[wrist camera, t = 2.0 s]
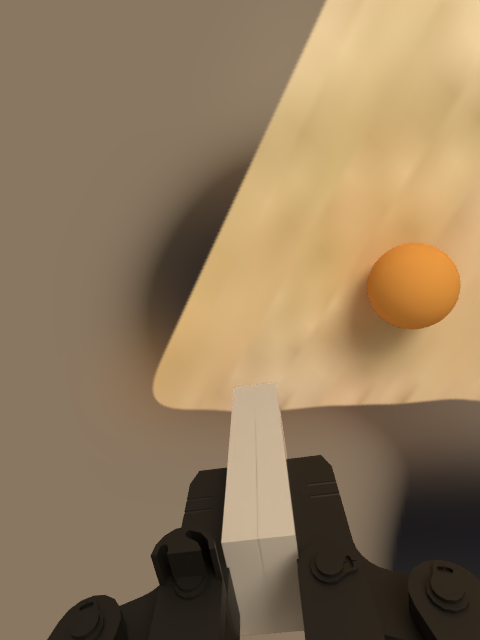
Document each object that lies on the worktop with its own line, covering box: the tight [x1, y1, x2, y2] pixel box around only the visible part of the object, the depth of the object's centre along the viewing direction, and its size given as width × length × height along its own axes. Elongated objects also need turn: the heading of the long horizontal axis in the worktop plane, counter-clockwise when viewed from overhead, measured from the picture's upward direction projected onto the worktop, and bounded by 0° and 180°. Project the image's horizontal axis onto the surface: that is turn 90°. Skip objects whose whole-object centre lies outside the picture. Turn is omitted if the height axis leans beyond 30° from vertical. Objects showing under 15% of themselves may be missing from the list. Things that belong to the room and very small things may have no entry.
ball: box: [367, 243, 460, 329], centre depth 26 cm, size 6×6×6 cm
